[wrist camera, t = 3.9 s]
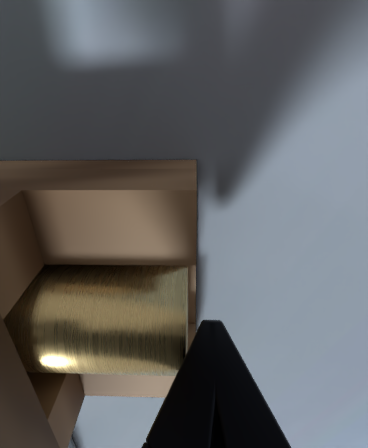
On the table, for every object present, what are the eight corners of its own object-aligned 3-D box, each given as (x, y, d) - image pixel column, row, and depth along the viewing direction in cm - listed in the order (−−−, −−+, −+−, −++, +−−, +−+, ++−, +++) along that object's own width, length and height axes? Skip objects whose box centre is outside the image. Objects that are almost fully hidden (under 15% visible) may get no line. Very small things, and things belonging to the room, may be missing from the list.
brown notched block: (196, 159, 9) (198, 316, 3) (195, 343, 12) (195, 549, 7) (-69, 160, 9) (-454, 306, 4) (11, 340, 13) (-118, 536, 7)
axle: (188, 246, 9) (184, 323, 6) (188, 315, 11) (185, 400, 8) (-121, 243, 9) (-242, 314, 7) (-80, 310, 11) (-165, 389, 8)
